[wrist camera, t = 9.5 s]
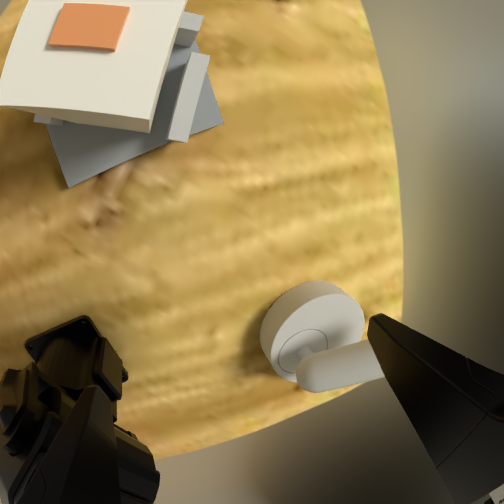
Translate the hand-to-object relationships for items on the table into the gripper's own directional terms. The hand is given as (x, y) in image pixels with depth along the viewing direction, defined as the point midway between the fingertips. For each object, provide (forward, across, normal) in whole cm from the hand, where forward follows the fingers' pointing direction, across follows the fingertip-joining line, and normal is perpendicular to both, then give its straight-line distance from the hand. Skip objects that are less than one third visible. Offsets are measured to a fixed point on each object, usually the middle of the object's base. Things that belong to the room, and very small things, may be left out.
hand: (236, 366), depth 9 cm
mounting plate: (+14, +3, -9) cm, 17 cm away
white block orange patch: (+13, +3, -8) cm, 16 cm away
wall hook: (+12, -7, +12) cm, 19 cm away
